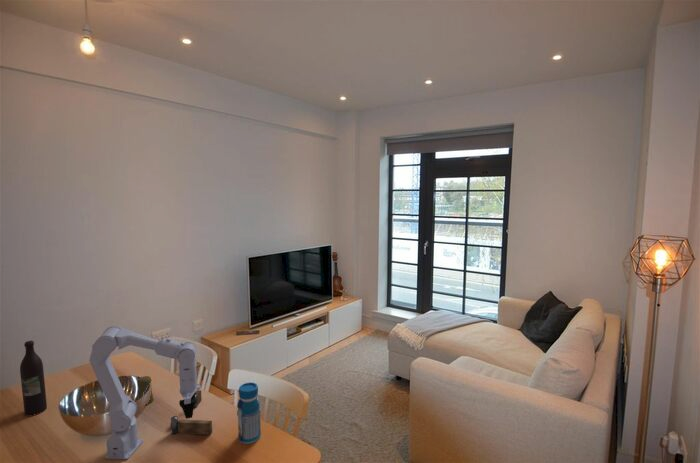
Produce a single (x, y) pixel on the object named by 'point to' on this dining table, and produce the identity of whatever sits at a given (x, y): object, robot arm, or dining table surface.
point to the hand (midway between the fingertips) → (189, 411)
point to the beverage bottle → (248, 413)
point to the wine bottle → (32, 381)
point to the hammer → (175, 418)
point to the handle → (194, 427)
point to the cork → (144, 386)
